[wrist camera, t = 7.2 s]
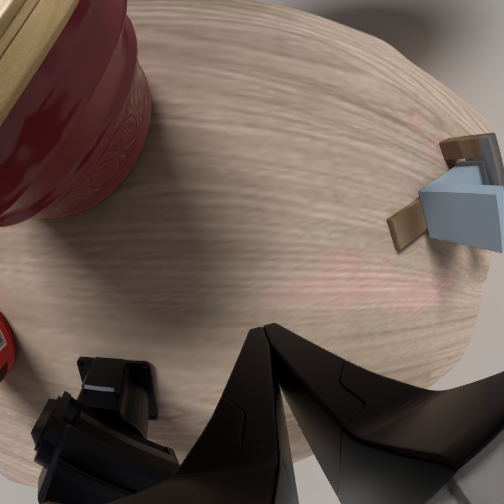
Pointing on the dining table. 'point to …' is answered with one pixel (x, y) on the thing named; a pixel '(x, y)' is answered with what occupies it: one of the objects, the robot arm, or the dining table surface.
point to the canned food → (6, 348)
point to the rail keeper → (470, 147)
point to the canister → (67, 105)
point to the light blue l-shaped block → (465, 207)
